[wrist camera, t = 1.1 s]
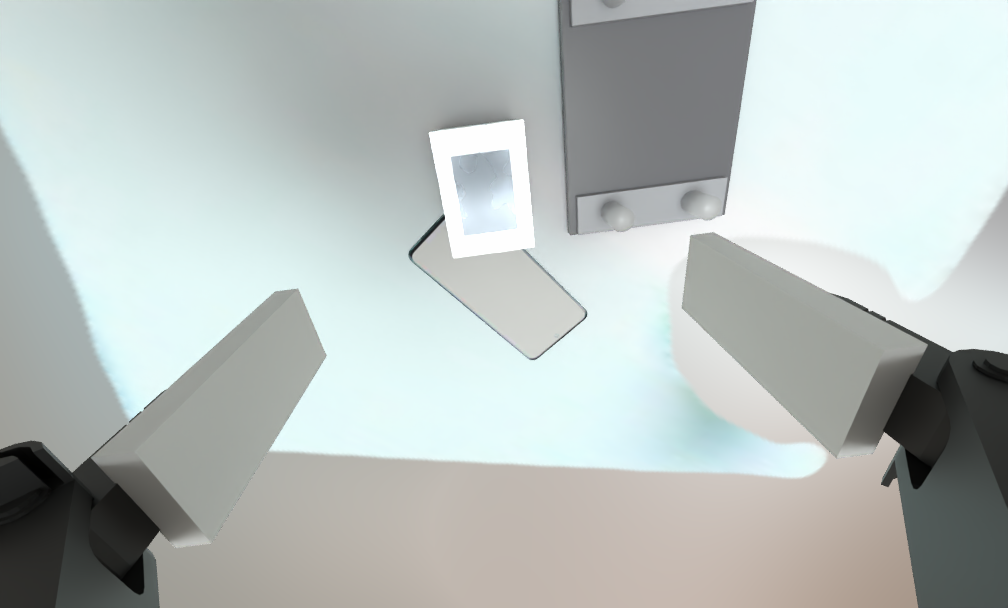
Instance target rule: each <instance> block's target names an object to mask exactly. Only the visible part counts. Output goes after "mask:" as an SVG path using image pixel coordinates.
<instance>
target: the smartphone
mask: <svg viewBox="0 0 1008 608" xmlns="http://www.w3.org/2000/svg"><path fill="white" fill-rule="evenodd" d="M409 258H410V260H411V261H412V262H413V263H414V264H415V265H416V266H418V267H419V268H420V269H421V270H422V271H424V272H425V273H426V274H427V275H428V276H430V277H431V278H432V279H433V280H434V281H436V282H437V283H438V284H439V285H440V286H442V287H443V288H444V289H445V290H446V291H448V292H449V293H450V294H451V295H452V296H454V297H455V298H456V299H457V300H458V301H460V302H461V303H462V304H463V305H464V306H466V307H467V308H468V309H469V310H470V311H472V312H473V313H474V314H475V315H476V316H478V317H479V318H480V319H481V320H482V321H484V322H485V323H486V324H487V325H488V326H490V327H491V328H492V329H493V330H494V331H496V332H497V333H498V334H499V335H500V336H502V337H503V338H504V339H505V340H506V341H508V342H509V343H510V344H511V345H512V346H513V347H515V348H516V349H517V350H518V351H519V352H521V353H522V354H523V355H524V356H525V357H527V358H528V359H530V360H535V359H537V358H539V357H540V356H541V355H542V354H544V353H545V352H546V351H547V350H548V349H550V348H551V347H552V346H553V345H554V344H556V343H557V342H558V341H559V340H560V339H562V338H563V337H564V336H565V335H566V334H568V333H569V332H570V331H571V330H572V329H574V328H575V327H576V326H577V325H578V324H580V323H581V322H582V321H583V320H584V319H585V318H586V317H587V311H586V310H585V309H584V308H583V307H582V306H581V305H580V304H579V303H578V302H577V301H576V300H575V299H574V298H573V297H572V296H571V295H570V294H569V293H568V292H567V291H566V290H565V289H564V288H563V287H562V286H561V285H560V284H559V283H558V282H557V281H556V280H555V279H554V278H553V277H552V276H551V275H550V274H549V273H548V272H547V271H545V270H544V269H543V268H542V267H541V266H540V265H539V264H538V263H537V262H536V261H535V260H534V259H533V258H532V257H531V256H530V255H529V254H528V253H527V252H526V251H525V250H524V249H518V250H511V251H504V252H496V253H489V254H481V255H474V256H467V257H459V258H453V255H452V250H451V245H450V239H449V234H448V229H447V224H446V219H445V214H443V215H442V216H441V217H440V219H439V220H438V221H437V222H436V223H435V224H434V225H433V226H432V227H431V228H430V229H429V230H428V231H427V233H426V234H425V235H424V236H423V237H422V238H421V239H420V240H419V241H418V242H417V243H416V244H415V245H414V247H413V248H412V249H411V250H410V251H409Z"/></svg>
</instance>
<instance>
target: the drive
mask: <svg viewBox="0 0 1008 608" xmlns="http://www.w3.org/2000/svg"><path fill="white" fill-rule="evenodd" d="M429 136H430V141H431V146H432V151H433V156H434V162H435V167H436V172H437V177H438V182H439V188H440V193H441V198H442V203H443V208H444V214H445V219H446V224H447V229H448V234H449V239H450V245H451V250H452V255H453V258H459V257H467V256H474V255H481V254H489V253H496V252H504V251H511V250H518V249H526V248H533V247H535V246H534V234H533V223H532V211H531V200H530V188H529V176H528V165H527V153H526V142H525V130H524V120H515V119H512V120H505V121H497V122H490V123H482V124H475V125H468V126H460V127H453V128H445V129H439V130H436V131H432V132H429Z"/></svg>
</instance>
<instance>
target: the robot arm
mask: <svg viewBox="0 0 1008 608" xmlns="http://www.w3.org/2000/svg"><path fill="white" fill-rule="evenodd" d="M682 309H683V310H684V311H685V312H686V313H688V314H689V315H690V316H691V317H692V318H693V319H694V320H695V321H696V322H697V323H698V324H699V325H700V326H701V327H702V328H703V329H704V330H705V331H706V332H707V333H708V334H709V335H710V336H711V337H712V338H713V339H714V340H715V341H716V342H717V343H718V344H719V345H720V346H721V347H722V348H724V350H725V351H727V352H728V353H729V354H730V355H731V356H732V357H733V358H734V359H735V360H736V361H737V362H738V363H739V364H740V365H741V366H742V367H743V368H744V369H745V370H746V371H747V372H748V373H749V374H750V375H751V376H752V377H753V378H754V379H755V380H756V381H757V382H758V383H759V384H760V385H762V386H763V388H765V389H766V390H767V391H768V392H769V393H770V394H771V395H772V396H773V397H774V398H775V399H776V400H777V401H778V402H779V403H780V404H781V405H782V406H783V407H784V408H785V409H786V410H787V411H788V412H789V413H790V414H791V415H792V416H793V417H794V418H795V419H796V420H797V421H798V422H799V423H801V425H803V426H804V427H805V428H806V429H807V430H808V431H809V432H810V433H811V434H812V435H813V436H814V437H815V438H816V439H817V440H818V441H819V442H820V443H821V444H822V445H823V446H824V447H825V448H826V449H827V450H828V451H829V452H831V454H832V455H833V456H834V457H835V458H837V459H838V458H845V457H853V456H860V455H867V454H873V453H874V451H875V449H876V447H877V445H878V443H879V440H880V439H881V437H882V435H883V433H884V432H885V433H887V434H888V435H889V436H890V437H892V438H893V439H894V440H896V441H897V442H898V443H899V444H900V447H899V449H898V451H897V452H896V454H895V456H894V458H893V460H892V461H891V463H890V465H889V467H888V469H887V471H886V472H885V474H884V476H883V479H882V482H881V485H884V486H887V487H889V485H890V483H891V482H892V480H893V479H895V478H898V484H899V491H900V496H901V502H902V509H903V515H904V521H905V527H906V533H907V540H908V546H909V552H910V558H911V565H912V571H913V577H914V583H915V589H916V596H917V602H918V608H1008V354H1004V353H999V352H995V351H986V350H978V349H969V350H958V351H956V352H951V351H949V350H947V349H946V348H944V347H941V346H939V345H938V344H936V343H934V342H932V341H930V340H928V339H926V338H924V337H922V336H920V335H918V334H916V333H914V332H912V331H910V330H908V329H906V328H904V327H903V326H900V325H898V324H897V323H895V322H893V321H891V320H888V321H886V318H885V317H883V316H881V315H879V314H877V313H875V312H873V311H870V312H869V311H868V309H867V308H865V307H863V306H861V305H859V304H858V303H856V302H853V301H852V300H850V299H848V298H844V297H841V296H838V295H835V294H831V293H829V292H826V291H825V290H823V289H821V288H819V287H817V286H815V285H813V284H811V283H809V282H807V281H806V280H803V279H802V278H800V277H798V276H796V275H794V274H792V273H790V272H788V271H786V270H784V269H783V268H781V267H779V266H777V265H775V264H773V263H771V262H769V261H767V260H765V259H763V258H762V257H759V256H758V255H756V254H754V253H752V252H750V251H748V250H746V249H744V248H742V247H740V246H738V245H737V244H735V243H733V242H731V241H729V240H727V239H725V238H723V237H721V236H719V235H718V234H716V233H714V232H712V233H705V234H697V235H691V236H690V244H689V252H688V260H687V269H686V277H685V285H684V294H683V302H682ZM325 358H326V354H325V351H324V349H323V347H322V344H321V342H320V339H319V337H318V335H317V332H316V330H315V328H314V325H313V323H312V320H311V318H310V316H309V313H308V311H307V309H306V306H305V304H304V302H303V299H302V297H301V294H300V292H299V290H298V289H291V290H284V291H276V292H274V293H273V294H272V295H271V296H270V297H269V298H268V299H266V300H265V301H264V302H263V303H262V304H261V305H260V306H259V307H258V308H256V309H255V310H254V311H253V312H252V313H251V314H250V315H249V316H248V317H246V318H245V319H244V320H243V321H242V322H241V323H240V324H239V325H238V326H237V327H235V328H234V329H233V330H232V331H231V332H230V333H229V334H228V335H227V336H225V337H224V338H223V339H222V340H221V341H220V342H219V343H218V344H217V345H215V346H214V347H213V348H212V349H211V350H210V351H209V352H208V353H207V354H205V355H204V356H203V357H202V358H201V359H200V360H199V361H198V362H197V363H195V364H194V365H193V366H192V367H191V368H190V369H189V370H188V371H187V372H185V373H184V374H183V375H182V376H181V377H180V378H179V379H178V380H177V381H176V382H174V383H173V384H172V385H171V386H170V387H169V388H168V389H167V390H165V391H163V392H162V393H161V394H159V395H158V396H157V397H156V398H155V399H154V400H153V401H152V402H151V403H149V404H148V405H147V406H146V407H145V408H144V410H143V411H142V412H139V413H138V414H137V415H136V416H135V417H134V418H133V419H132V420H130V421H129V424H128V425H125V426H124V427H123V428H122V429H121V430H119V431H118V432H117V433H116V434H115V435H114V436H113V437H112V438H110V439H109V440H108V441H107V442H106V443H105V444H104V445H103V446H101V448H99V449H98V450H97V451H96V452H95V453H94V454H93V455H92V456H90V457H89V458H88V459H87V460H86V461H85V462H84V463H83V464H81V465H80V466H79V467H78V468H77V469H76V470H75V471H74V472H73V473H72V472H71V471H70V470H68V468H67V467H65V465H64V464H63V463H62V462H61V461H60V460H59V459H58V458H57V457H56V456H55V455H53V453H51V451H50V450H49V449H48V448H47V447H46V446H45V445H43V443H42V442H36V441H28V442H23V443H18V444H14V445H11V446H8V447H6V448H3V449H1V450H0V608H160V606H159V594H158V580H157V567H156V559H155V557H154V555H153V554H152V553H151V551H150V550H149V549H147V547H148V546H149V544H150V543H151V542H152V540H153V539H154V537H155V536H156V535H157V533H158V532H159V531H160V532H161V533H162V534H163V535H164V536H165V537H166V539H167V540H168V541H169V542H170V543H171V544H172V545H173V546H174V547H175V548H180V547H188V546H194V545H203V544H210V543H212V542H213V541H214V539H215V537H216V536H217V534H218V532H219V531H220V529H221V528H222V526H223V524H224V523H225V521H226V519H227V518H228V516H229V514H230V513H231V511H232V510H233V508H234V506H235V505H236V503H237V501H238V500H239V498H240V496H241V495H242V493H243V491H244V490H245V488H246V487H247V485H248V483H249V482H250V480H251V479H252V477H253V475H254V474H255V472H256V470H257V469H258V467H259V465H260V464H261V462H262V461H263V459H264V457H265V456H266V454H267V452H268V451H269V449H270V447H271V446H272V444H273V443H274V441H275V439H276V438H277V436H278V434H279V433H280V431H281V430H282V428H283V426H284V425H285V423H286V421H287V420H288V418H289V416H290V415H291V413H292V412H293V410H294V408H295V407H296V405H297V403H298V402H299V400H300V398H301V397H302V395H303V394H304V392H305V390H306V389H307V387H308V385H309V384H310V382H311V380H312V379H313V377H314V376H315V374H316V372H317V371H318V369H319V367H320V366H321V364H322V363H323V361H324V359H325Z"/></svg>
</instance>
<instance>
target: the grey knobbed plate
mask: <svg viewBox="0 0 1008 608" xmlns="http://www.w3.org/2000/svg"><path fill="white" fill-rule="evenodd" d="M755 7H756V0H559V20H560V44H561V68H562V92H563V116H564V139H565V163H566V187H567V211H568V233H569V234H570V235H576V234H578V235H582V234H589V233H597V232H604V231H612V230H616V231H618V232H624V231H627V230H629V229H630V228H634V227H641V226H649V225H656V224H664V223H671V222H679V221H686V220H693V219H703V220H712V219H714V218H715V217H716V216H722V215H724V214H725V208H726V201H727V194H728V187H729V181H730V174H731V167H732V161H733V154H734V147H735V141H736V134H737V127H738V120H739V114H740V107H741V100H742V94H743V87H744V80H745V74H746V67H747V60H748V54H749V47H750V40H751V33H752V27H753V20H754V13H755Z"/></svg>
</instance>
